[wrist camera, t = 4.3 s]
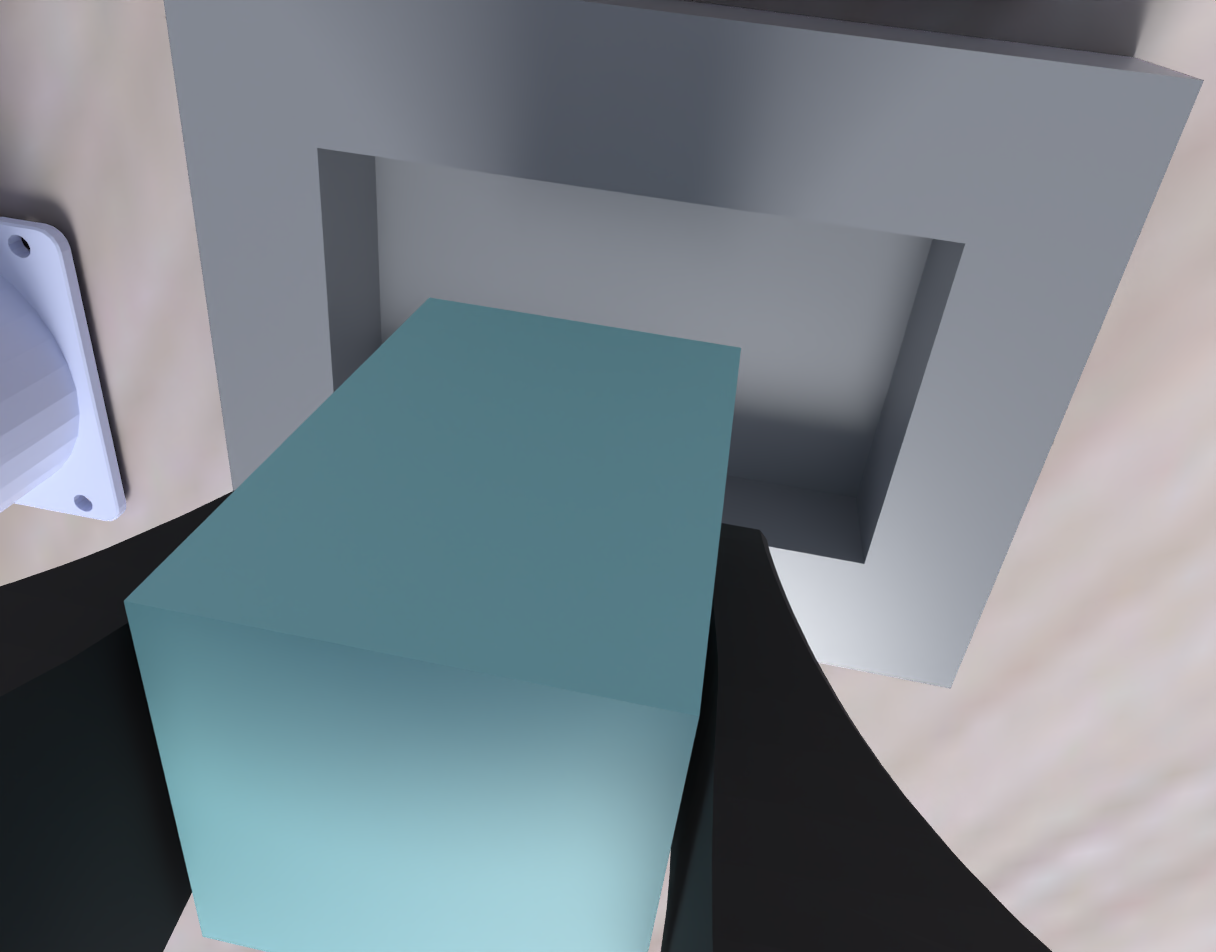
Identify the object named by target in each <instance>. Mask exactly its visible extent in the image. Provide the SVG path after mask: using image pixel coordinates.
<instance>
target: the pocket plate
mask: <svg viewBox="0 0 1216 952" xmlns="http://www.w3.org/2000/svg"><path fill="white" fill-rule="evenodd" d="M164 6H165V13H166V20H167V27H168V34H169V42H170V49H171V56H172V63H173V70H174V77H175V84H176V91H177V98H178V105H179V112H180V119H181V126H182V133H183V140H184V147H185V154H186V161H187V168H188V175H189V183H190V190H191V197H192V204H193V211H194V218H195V225H196V232H197V239H198V246H199V253H200V260H201V267H202V274H203V281H204V288H205V295H206V302H207V309H208V316H209V323H210V331H211V338H212V345H213V352H214V359H215V366H216V373H217V380H218V387H219V394H220V401H221V408H222V415H223V422H224V429H225V436H226V443H227V450H228V457H229V464H230V472H231V479H232V486H233V491H235V490H236V489H237V488H238V487H239V486H240V485H241V484H242V483H243V482H244V481H245V480H246V479H247V478H248V477H249V476H250V475H251V474H252V473H253V472H254V471H255V470H256V469H257V468H258V467H259V466H260V465H261V464H262V463H263V462H264V461H265V460H266V459H267V458H268V457H269V456H270V455H271V454H272V453H273V452H274V451H275V450H276V449H277V448H278V447H279V446H280V445H281V444H282V443H283V442H284V441H285V440H286V439H287V438H288V437H289V436H290V435H291V434H292V433H293V432H294V431H295V430H296V429H297V428H298V427H299V426H300V425H301V424H302V423H303V422H304V421H305V420H306V419H307V418H308V417H309V416H310V415H311V414H312V413H313V412H314V411H315V410H316V409H317V408H318V407H319V406H320V405H321V404H322V403H323V402H325V401H326V400H327V399H328V398H329V397H330V396H331V395H332V394H333V393H334V392H335V391H336V390H337V389H338V388H339V387H340V386H341V385H342V384H343V383H344V382H345V381H346V380H347V379H348V378H349V377H350V376H351V375H352V374H353V373H354V372H355V371H356V370H357V369H358V368H359V367H360V366H361V365H362V364H363V363H364V362H365V361H366V360H367V359H368V358H369V357H370V356H371V355H372V354H373V353H374V352H375V351H376V350H377V349H378V348H379V347H380V346H381V345H382V344H383V343H384V342H385V341H386V340H387V339H388V338H389V337H390V336H391V335H392V334H393V333H394V332H395V331H396V330H397V329H398V328H399V327H400V326H401V325H402V324H403V323H404V322H405V321H406V320H407V319H408V318H409V317H410V316H411V315H412V314H413V313H414V312H415V311H416V310H417V309H418V308H419V307H420V306H421V305H422V304H423V303H424V302H425V301H426V300H427V299H428V298H436V299H442V300H448V301H454V302H460V303H467V304H473V305H479V306H485V307H491V308H498V309H504V310H510V311H516V312H522V313H529V314H535V315H541V316H547V317H553V318H560V319H566V320H572V321H578V322H584V323H591V324H597V325H603V326H609V327H615V328H622V329H628V330H634V331H640V332H646V333H653V334H659V335H665V336H671V337H677V338H684V339H690V340H696V341H702V342H708V343H715V344H721V345H727V346H733V347H739V348H741V353H740V362H739V370H738V379H737V388H736V397H735V406H734V415H733V423H732V432H731V441H730V450H729V459H728V467H727V476H726V485H725V494H724V503H723V512H722V520H721V523H725V524H730V525H736V526H742V527H747V528H753V529H758V530H760V531H761V532H762V533H763V535H764V536H765V537H766V539H767V542H768V546H769V550H770V553H771V556H772V559H773V562H774V565H775V568H776V571H777V574H778V576H779V579H780V581H781V584H782V586H783V589H784V591H785V594H786V596H787V599H788V601H789V603H790V606H791V608H792V610H793V613H794V615H795V617H796V619H797V621H798V623H799V625H800V627H801V629H802V632H803V634H804V636H805V638H806V640H807V642H808V644H809V646H810V648H811V650H812V652H813V654H814V656H815V658H816V660H817V662H818V663H822V664H827V665H832V666H837V667H843V668H848V669H853V670H858V671H863V672H868V673H874V674H879V675H884V676H889V677H894V678H899V679H904V680H910V681H915V682H920V683H925V684H930V685H935V686H940V687H946V688H951V686H952V684H953V681H954V679H955V676H956V674H957V672H958V669H959V667H960V664H961V662H962V660H963V657H964V655H965V652H966V650H967V648H968V645H969V643H970V640H971V638H972V636H973V633H974V631H975V628H976V626H977V624H978V621H979V619H980V616H981V614H982V612H983V609H984V607H985V604H986V602H987V600H988V597H989V595H990V592H991V590H992V588H993V585H994V583H995V580H996V578H997V576H998V573H999V571H1000V568H1001V566H1002V564H1003V561H1004V559H1005V556H1006V554H1007V552H1008V549H1009V547H1010V544H1011V542H1012V540H1013V537H1014V535H1015V532H1016V530H1017V528H1018V525H1019V523H1020V520H1021V518H1022V516H1023V513H1024V511H1025V508H1026V506H1027V504H1028V501H1029V499H1030V496H1031V494H1032V492H1033V489H1034V487H1035V484H1036V482H1037V480H1038V477H1039V475H1040V472H1041V470H1042V468H1043V465H1044V463H1045V460H1046V458H1047V456H1048V453H1049V451H1050V448H1051V446H1052V444H1053V441H1054V439H1055V436H1056V434H1057V432H1058V429H1059V427H1060V424H1061V422H1062V420H1063V417H1064V415H1065V412H1066V410H1067V408H1068V405H1069V403H1070V400H1071V398H1072V395H1073V393H1074V391H1075V388H1076V386H1077V383H1078V381H1079V379H1080V376H1081V374H1082V371H1083V369H1084V367H1085V364H1086V362H1087V359H1088V357H1089V355H1090V352H1091V350H1092V347H1093V345H1094V343H1095V340H1096V338H1097V335H1098V333H1099V331H1100V328H1101V326H1102V323H1103V321H1104V319H1105V316H1106V314H1107V311H1108V309H1109V307H1110V304H1111V302H1112V299H1113V297H1114V295H1115V292H1116V290H1117V287H1118V285H1119V283H1120V280H1121V278H1122V275H1123V273H1124V271H1125V268H1126V266H1127V263H1128V261H1129V259H1130V256H1131V254H1132V251H1133V249H1134V247H1135V244H1136V242H1137V239H1138V237H1139V235H1140V232H1141V230H1142V227H1143V225H1144V223H1145V220H1146V218H1147V215H1148V213H1149V211H1150V208H1151V206H1152V203H1153V201H1154V199H1155V196H1156V194H1157V191H1158V189H1159V187H1160V184H1161V182H1162V179H1163V177H1164V175H1165V172H1166V170H1167V167H1168V165H1169V163H1170V160H1171V158H1172V155H1173V153H1174V151H1175V148H1176V146H1177V143H1178V141H1179V139H1180V136H1181V134H1182V131H1183V129H1184V127H1185V124H1186V122H1187V119H1188V117H1189V115H1190V112H1191V110H1192V107H1193V105H1194V103H1195V100H1196V98H1197V95H1198V93H1199V91H1200V88H1201V86H1202V83H1203V81H1204V80H1201V79H1198V78H1195V77H1192V76H1189V75H1186V74H1183V73H1180V72H1177V71H1174V70H1171V69H1168V68H1165V67H1162V66H1159V65H1156V64H1153V63H1150V62H1147V61H1144V60H1141V59H1138V58H1135V57H1128V56H1120V55H1112V54H1104V53H1096V52H1088V51H1080V50H1072V49H1065V48H1057V47H1049V46H1041V45H1033V44H1025V43H1017V42H1009V41H1001V40H993V39H985V38H977V37H969V36H962V35H954V34H946V33H938V32H930V31H922V30H914V29H906V28H898V27H890V26H882V25H874V24H867V23H859V22H851V21H843V20H835V19H827V18H819V17H811V16H803V15H795V14H787V13H779V12H771V11H764V10H756V9H748V8H740V7H732V6H724V5H716V4H708V3H700V2H692V1H684V0H164Z"/></svg>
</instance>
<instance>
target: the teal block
mask: <svg viewBox="0 0 1216 952" xmlns="http://www.w3.org/2000/svg"><path fill="white" fill-rule="evenodd" d="M740 353H741V348H739V347H733V346H727V345H721V344H715V343H708V342H702V341H696V340H690V339H684V338H677V337H671V336H665V335H659V334H653V333H646V332H640V331H634V330H628V329H622V328H615V327H609V326H603V325H597V324H591V323H584V322H578V321H572V320H566V319H560V318H553V317H547V316H541V315H535V314H529V313H522V312H516V311H510V310H504V309H498V308H491V307H485V306H479V305H473V304H467V303H460V302H454V301H448V300H442V299H436V298H428V299H427V300H426V301H425V302H424V303H423V304H422V305H421V306H420V307H419V308H418V309H417V310H416V311H415V312H414V313H413V314H412V315H411V316H410V317H409V318H408V319H407V320H406V321H405V322H404V323H403V324H402V325H401V326H400V327H399V328H398V329H397V330H396V331H395V332H394V333H393V334H392V335H391V336H390V337H389V338H388V339H387V340H386V341H385V342H384V343H383V344H382V345H381V346H380V347H379V348H378V349H377V350H376V351H375V352H374V353H373V354H372V355H371V356H370V357H369V358H368V359H367V360H366V361H365V362H364V363H363V364H362V365H361V366H360V367H359V368H358V369H357V370H356V371H355V372H354V373H353V374H352V375H351V376H350V377H349V378H348V379H347V380H346V381H345V382H344V383H343V384H342V385H341V386H340V387H339V388H338V389H337V390H336V391H335V392H334V393H333V394H332V395H331V396H330V397H329V398H328V399H327V400H326V401H325V402H323V403H322V404H321V405H320V406H319V407H318V408H317V409H316V410H315V411H314V412H313V413H312V414H311V415H310V416H309V417H308V418H307V419H306V420H305V421H304V422H303V423H302V424H301V425H300V426H299V427H298V428H297V429H296V430H295V431H294V432H293V433H292V434H291V435H290V436H289V437H288V438H287V439H286V440H285V441H284V442H283V443H282V444H281V445H280V446H279V447H278V448H277V449H276V450H275V451H274V452H273V453H272V454H271V455H270V456H269V457H268V458H267V459H266V460H265V461H264V462H263V463H262V464H261V465H260V466H259V467H258V468H257V469H256V470H255V471H254V472H253V473H252V474H251V475H250V476H249V477H248V478H247V479H246V480H245V481H244V482H243V483H242V484H241V485H240V486H239V487H238V488H237V489H236V490H235V491H234V492H233V493H232V494H231V495H230V496H229V497H228V498H227V499H226V500H225V501H224V502H223V503H222V504H221V505H220V506H219V507H218V508H217V509H216V510H215V511H214V512H213V513H212V514H211V515H210V516H209V517H208V518H207V519H206V520H205V521H204V522H203V523H202V524H201V525H200V526H199V527H198V528H197V529H196V530H195V531H194V532H193V533H192V534H191V535H190V536H189V537H188V538H187V539H185V540H184V541H183V542H182V543H181V544H180V545H179V546H178V547H177V548H176V549H175V550H174V551H173V552H172V553H171V554H170V555H169V556H168V557H167V558H166V559H165V560H164V561H163V562H162V563H161V564H160V565H159V566H158V567H157V568H156V569H155V570H154V571H153V572H152V573H151V574H150V575H149V576H148V577H147V578H146V579H145V580H144V581H143V582H142V583H141V584H140V585H139V586H138V587H137V588H136V589H135V590H134V591H133V592H132V593H131V594H130V595H129V596H128V597H127V598H126V599H125V600H124V605H125V609H126V613H127V617H128V622H129V626H130V630H131V634H132V639H133V643H134V647H135V651H136V656H137V660H138V664H139V668H140V673H141V677H142V681H143V685H144V690H145V694H146V698H147V702H148V706H149V711H150V715H151V719H152V723H153V728H154V732H155V736H156V740H157V745H158V749H159V753H160V757H161V762H162V766H163V770H164V774H165V779H166V783H167V787H168V791H169V795H170V800H171V804H172V808H173V812H174V817H175V821H176V825H177V829H178V834H179V838H180V842H181V846H182V851H183V855H184V859H185V863H186V867H187V872H188V876H189V880H190V884H191V889H192V893H193V897H194V901H195V906H196V910H197V914H198V918H199V923H200V927H201V931H202V935H203V937H207V938H211V939H215V940H219V941H224V942H228V943H232V944H236V945H241V946H245V947H249V948H253V949H258V950H262V951H266V952H648V950H649V945H650V940H651V936H652V931H653V927H654V922H655V917H656V913H657V908H658V904H659V899H660V894H661V890H662V885H663V881H664V876H665V871H666V867H667V862H668V858H669V853H670V849H671V844H672V839H673V835H674V830H675V826H676V821H677V816H678V812H679V807H680V803H681V798H682V793H683V789H684V784H685V780H686V775H687V770H688V766H689V761H690V757H691V752H692V748H693V743H694V738H695V734H696V729H697V725H698V720H699V715H700V706H701V697H702V688H703V679H704V670H705V662H706V653H707V644H708V635H709V626H710V618H711V609H712V600H713V591H714V582H715V573H716V565H717V556H718V547H719V538H720V529H721V520H722V512H723V503H724V494H725V485H726V476H727V467H728V459H729V450H730V441H731V432H732V423H733V415H734V406H735V397H736V388H737V379H738V370H739V362H740Z"/></svg>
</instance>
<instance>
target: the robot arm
mask: <svg viewBox="0 0 1216 952" xmlns="http://www.w3.org/2000/svg"><path fill="white" fill-rule="evenodd" d="M21 237H23V238H24V239H25V240H26V241H27V242H28V245H29V247H30V251H29V250H28V249H27V248H26V247H25V246H24V245H23V243H22V240H21ZM233 492H234V491H232V492H230V493H228V494H226V495H224V496H222V497H220V498H218V499H216V500H214V501H212V502H210V503H208V504H205V505H203V506H201V507H199V508H197V509H195V510H193V511H191V512H189V513H187V514H185V515H182V516H180V517H178V518H175V519H173V520H171V521H169V522H166V523H164V524H162V525H159V526H157V527H155V528H152V529H150V530H148V531H146V532H143V533H141V534H139V535H136V536H134V537H132V538H129V539H127V540H125V541H123V542H120V543H118V544H116V545H113V546H111V547H109V548H106V549H104V550H101V551H99V552H96V553H94V554H91V555H89V556H86V557H83V558H81V559H78V560H75V561H73V562H70V563H67V564H65V565H62V566H59V567H56V568H53V569H50V570H48V571H45V572H42V573H39V574H36V575H33V576H30V577H27V578H24V579H21V580H19V581H16V582H13V583H9V584H6V585H3V586H0V952H163V951H164V949H165V947H166V945H167V942H168V940H169V938H170V936H171V934H172V932H173V930H174V928H175V926H176V924H177V922H178V920H179V918H180V916H181V914H182V912H183V910H184V908H185V906H186V904H187V902H188V900H189V897H190V895H191V893H192V889H191V884H190V880H189V876H188V872H187V867H186V863H185V859H184V855H183V851H182V846H181V842H180V838H179V834H178V829H177V825H176V821H175V817H174V812H173V808H172V804H171V800H170V795H169V791H168V787H167V783H166V779H165V774H164V770H163V766H162V762H161V757H160V753H159V749H158V745H157V740H156V736H155V732H154V728H153V723H152V719H151V715H150V711H149V706H148V702H147V698H146V694H145V690H144V685H143V681H142V677H141V673H140V668H139V664H138V660H137V656H136V651H135V647H134V643H133V639H132V634H131V630H130V626H129V622H128V617H127V613H126V609H125V605H124V600H125V599H126V598H127V597H128V596H129V595H130V594H131V593H132V592H133V591H134V590H135V589H136V588H137V587H138V586H139V585H140V584H141V583H142V582H143V581H144V580H145V579H146V578H147V577H148V576H149V575H150V574H151V573H152V572H153V571H154V570H155V569H156V568H157V567H158V566H159V565H160V564H161V563H162V562H163V561H164V560H165V559H166V558H167V557H168V556H169V555H170V554H171V553H172V552H173V551H174V550H175V549H176V548H177V547H178V546H179V545H180V544H181V543H182V542H183V541H184V540H185V539H187V538H188V537H189V536H190V535H191V534H192V533H193V532H194V531H195V530H196V529H197V528H198V527H199V526H200V525H201V524H202V523H203V522H204V521H205V520H206V519H207V518H208V517H209V516H210V515H211V514H212V513H213V512H214V511H215V510H216V509H217V508H218V507H219V506H220V505H221V504H222V503H223V502H224V501H225V500H226V499H227V498H228V497H229V496H230V495H231V494H232V493H233ZM86 497H87V498H88V499H89V500H90V501H91V502H90V501H89V500H88V499H87V498H86ZM13 503H16V504H21V505H26V506H31V507H36V508H41V509H47V510H52V511H57V512H62V513H67V514H72V515H78V516H83V517H88V518H93V519H98V520H103V521H113V520H115V519H117V518H118V517H119V516H120V515H121V514H123V513H124V511H125V510H126V500H125V495H124V491H123V486H122V482H121V477H120V472H119V468H118V463H117V459H116V454H115V450H114V445H113V440H112V436H111V431H110V427H109V422H108V418H107V413H106V408H105V404H104V399H103V395H102V390H101V385H100V381H99V376H98V372H97V367H96V363H95V358H94V353H93V349H92V344H91V340H90V335H89V331H88V326H87V321H86V317H85V312H84V308H83V303H82V299H81V294H80V289H79V285H78V280H77V276H76V271H75V266H74V262H73V257H72V253H71V248H70V246H69V243H68V241H67V239H66V238H65V237H64V235H63V234H62V233H61V232H60V231H59V230H57V229H56V228H55V227H53V226H51V225H48V224H44V223H38V222H32V221H26V220H20V219H13V218H7V217H1V216H0V513H1V512H2V511H3V510H5V509H6V508H8V507H9V506H10V505H12V504H13ZM661 952H1052V951H1051V950H1050V949H1049V948H1048V947H1047V946H1045V945H1044V944H1043V943H1042V942H1041V941H1040V940H1039V939H1038V938H1037V937H1036V936H1034V935H1033V934H1032V933H1031V932H1030V931H1029V930H1028V929H1027V928H1026V927H1025V926H1024V925H1022V924H1021V923H1020V922H1019V921H1018V920H1017V919H1016V918H1015V917H1014V916H1013V915H1012V914H1011V913H1010V912H1009V911H1008V910H1007V909H1006V908H1005V907H1004V906H1003V905H1002V903H1001V902H1000V901H999V900H998V899H997V898H996V897H995V896H994V895H993V894H992V893H991V892H990V891H989V890H988V889H987V888H986V887H985V886H984V885H983V884H982V883H981V882H980V881H979V880H978V879H977V878H976V877H975V876H974V875H973V874H972V873H971V872H970V870H969V869H968V868H967V867H966V866H965V865H964V864H963V863H962V862H961V861H960V860H959V859H958V857H957V856H956V855H955V854H954V853H953V852H952V851H951V850H950V848H949V847H948V846H947V845H946V844H945V843H944V841H943V840H942V839H941V838H940V837H939V835H938V834H937V833H936V832H935V831H934V830H933V828H932V827H931V826H930V825H929V824H928V822H927V821H926V820H925V819H924V818H923V817H922V815H921V814H920V813H919V812H918V811H917V810H916V808H915V807H914V806H913V805H912V804H911V802H910V801H909V800H908V799H907V798H906V797H905V795H904V794H903V793H902V791H901V790H900V789H899V787H898V786H897V785H896V783H895V782H894V781H893V779H892V778H891V777H890V775H889V774H888V773H887V771H886V770H885V769H884V767H883V766H882V765H881V763H880V762H879V760H878V759H877V757H876V756H875V754H874V753H873V752H872V750H871V749H870V747H869V746H868V744H867V743H866V741H865V740H864V739H863V737H862V736H861V734H860V733H859V731H858V730H857V728H856V726H855V725H854V723H853V722H852V720H851V719H850V717H849V715H848V714H847V712H846V711H845V709H844V707H843V706H842V704H841V702H840V701H839V699H838V697H837V696H836V694H835V692H834V690H833V689H832V687H831V685H830V683H829V682H828V680H827V678H826V676H825V675H824V673H823V671H822V669H821V667H820V665H819V663H818V662H817V660H816V658H815V656H814V654H813V652H812V650H811V648H810V646H809V644H808V642H807V640H806V638H805V636H804V634H803V632H802V629H801V627H800V625H799V623H798V621H797V619H796V617H795V615H794V613H793V610H792V608H791V606H790V603H789V601H788V599H787V596H786V594H785V591H784V589H783V586H782V584H781V581H780V579H779V576H778V574H777V571H776V568H775V565H774V562H773V559H772V556H771V553H770V550H769V546H768V542H767V539H766V537H765V536H764V535H763V533H762V532H761V531H760V530H758V529H753V528H747V527H742V526H736V525H730V524H725V523H721V529H720V538H719V547H718V556H717V565H716V573H715V582H714V591H713V600H712V609H711V618H710V626H709V635H708V644H707V653H706V662H705V670H704V679H703V688H702V697H701V706H700V715H699V720H698V725H697V729H696V734H695V738H694V743H693V748H692V752H691V757H690V761H689V766H688V770H687V775H686V780H685V784H684V789H683V793H682V798H681V803H680V807H679V812H678V816H677V821H676V826H675V830H674V835H673V839H672V844H671V857H670V876H669V888H668V900H667V910H666V918H665V925H664V932H663V940H662V947H661Z"/></svg>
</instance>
